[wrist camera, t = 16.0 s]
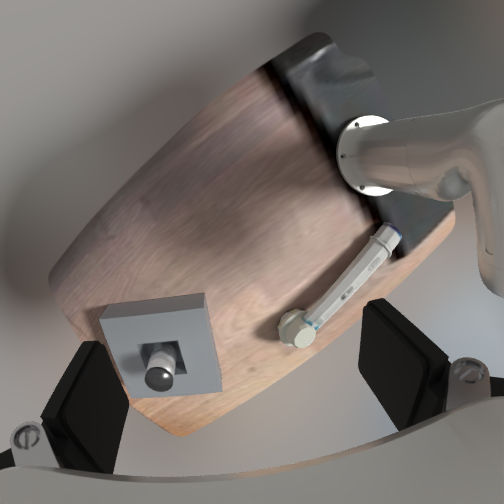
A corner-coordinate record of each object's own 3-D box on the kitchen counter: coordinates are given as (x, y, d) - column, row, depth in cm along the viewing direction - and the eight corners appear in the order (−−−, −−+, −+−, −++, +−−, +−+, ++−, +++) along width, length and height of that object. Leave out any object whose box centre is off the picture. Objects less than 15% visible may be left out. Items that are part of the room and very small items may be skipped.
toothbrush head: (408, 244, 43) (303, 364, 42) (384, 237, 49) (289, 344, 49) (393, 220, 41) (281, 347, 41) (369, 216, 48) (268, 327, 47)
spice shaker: (175, 335, 44) (170, 369, 36) (179, 356, 46) (175, 391, 37) (151, 336, 44) (141, 370, 35) (156, 357, 45) (148, 392, 36)
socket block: (204, 292, 45) (203, 307, 40) (221, 372, 49) (222, 391, 45) (108, 304, 43) (98, 319, 38) (136, 380, 48) (131, 398, 43)
